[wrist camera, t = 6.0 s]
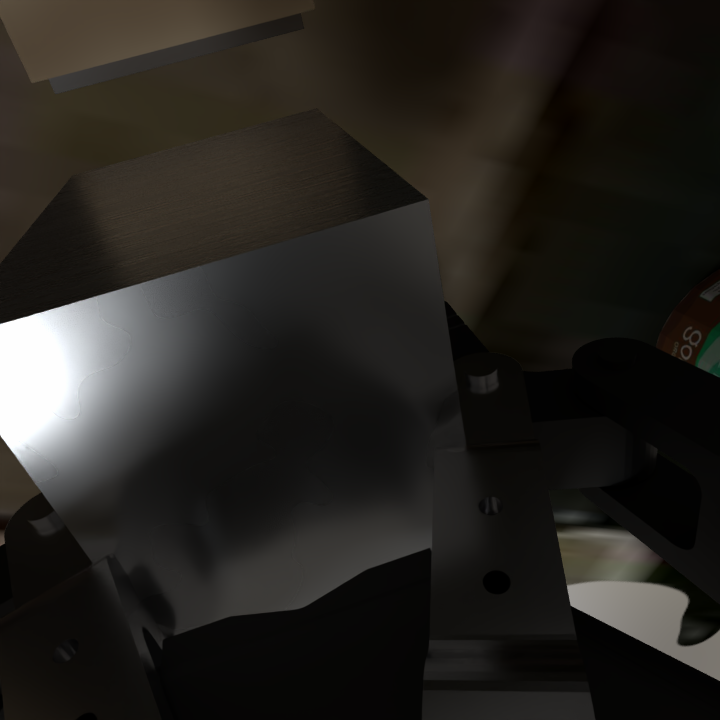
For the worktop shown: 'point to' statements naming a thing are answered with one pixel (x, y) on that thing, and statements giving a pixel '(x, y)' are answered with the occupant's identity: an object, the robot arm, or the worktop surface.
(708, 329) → the food container
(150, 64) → the beige brown block
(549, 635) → the robot arm
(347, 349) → the block
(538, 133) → the worktop surface
